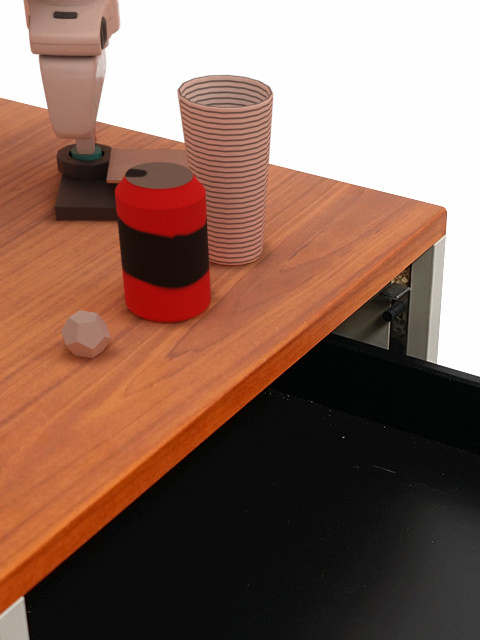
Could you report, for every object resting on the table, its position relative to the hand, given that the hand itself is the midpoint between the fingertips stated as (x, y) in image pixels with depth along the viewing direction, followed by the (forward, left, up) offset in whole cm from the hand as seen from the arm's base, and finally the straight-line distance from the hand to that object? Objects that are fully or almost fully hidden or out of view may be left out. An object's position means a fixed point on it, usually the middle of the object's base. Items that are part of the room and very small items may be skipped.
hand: (87, 149), depth 142 cm
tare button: (0, 0, -2) cm, 2 cm away
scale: (+4, -4, -4) cm, 7 cm away
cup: (+14, -16, -4) cm, 22 cm away
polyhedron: (+2, -36, -4) cm, 36 cm away
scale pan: (+6, -4, -1) cm, 7 cm away
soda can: (+9, -27, -4) cm, 29 cm away
